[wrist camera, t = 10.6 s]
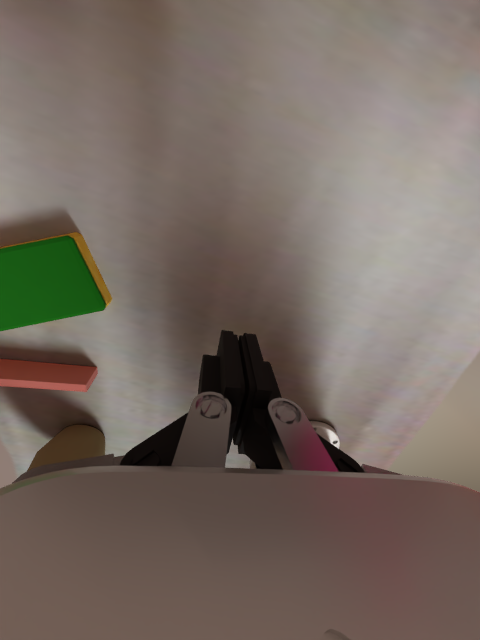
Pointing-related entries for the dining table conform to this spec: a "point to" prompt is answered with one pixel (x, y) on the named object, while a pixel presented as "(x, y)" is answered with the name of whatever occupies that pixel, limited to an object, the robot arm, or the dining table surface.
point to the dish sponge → (49, 281)
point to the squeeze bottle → (71, 446)
